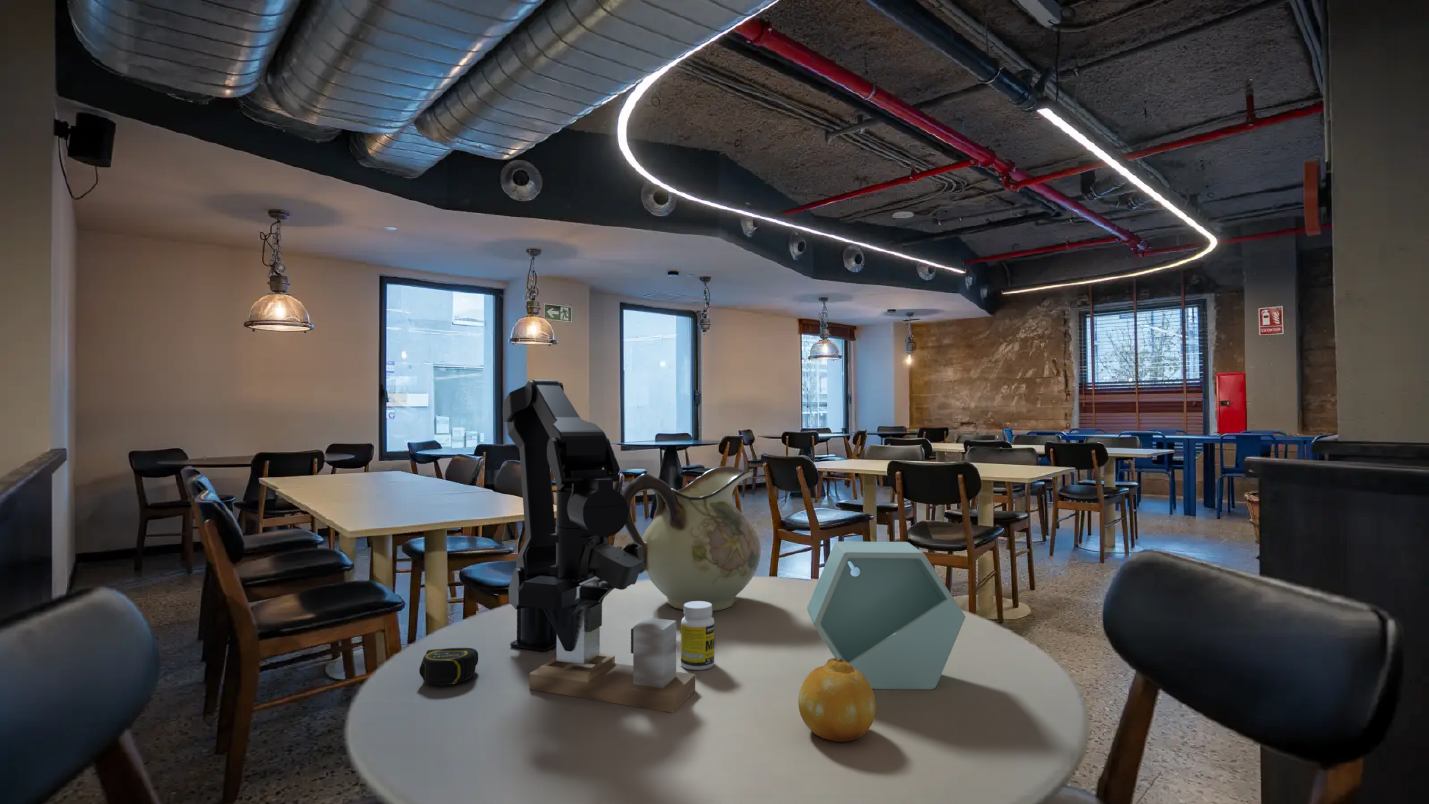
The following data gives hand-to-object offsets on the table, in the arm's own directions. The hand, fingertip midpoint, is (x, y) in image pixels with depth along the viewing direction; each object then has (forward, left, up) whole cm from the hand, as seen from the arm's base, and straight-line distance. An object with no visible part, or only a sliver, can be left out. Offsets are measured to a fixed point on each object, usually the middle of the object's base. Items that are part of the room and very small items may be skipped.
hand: (577, 645), depth 89 cm
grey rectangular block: (0, 0, -2) cm, 2 cm away
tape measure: (-17, -4, -5) cm, 19 cm away
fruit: (+34, -2, -5) cm, 35 cm away
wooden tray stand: (+5, 0, -5) cm, 7 cm away
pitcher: (+1, +41, -5) cm, 41 cm away
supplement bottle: (+12, +12, -5) cm, 18 cm away
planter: (+37, +16, -5) cm, 41 cm away
